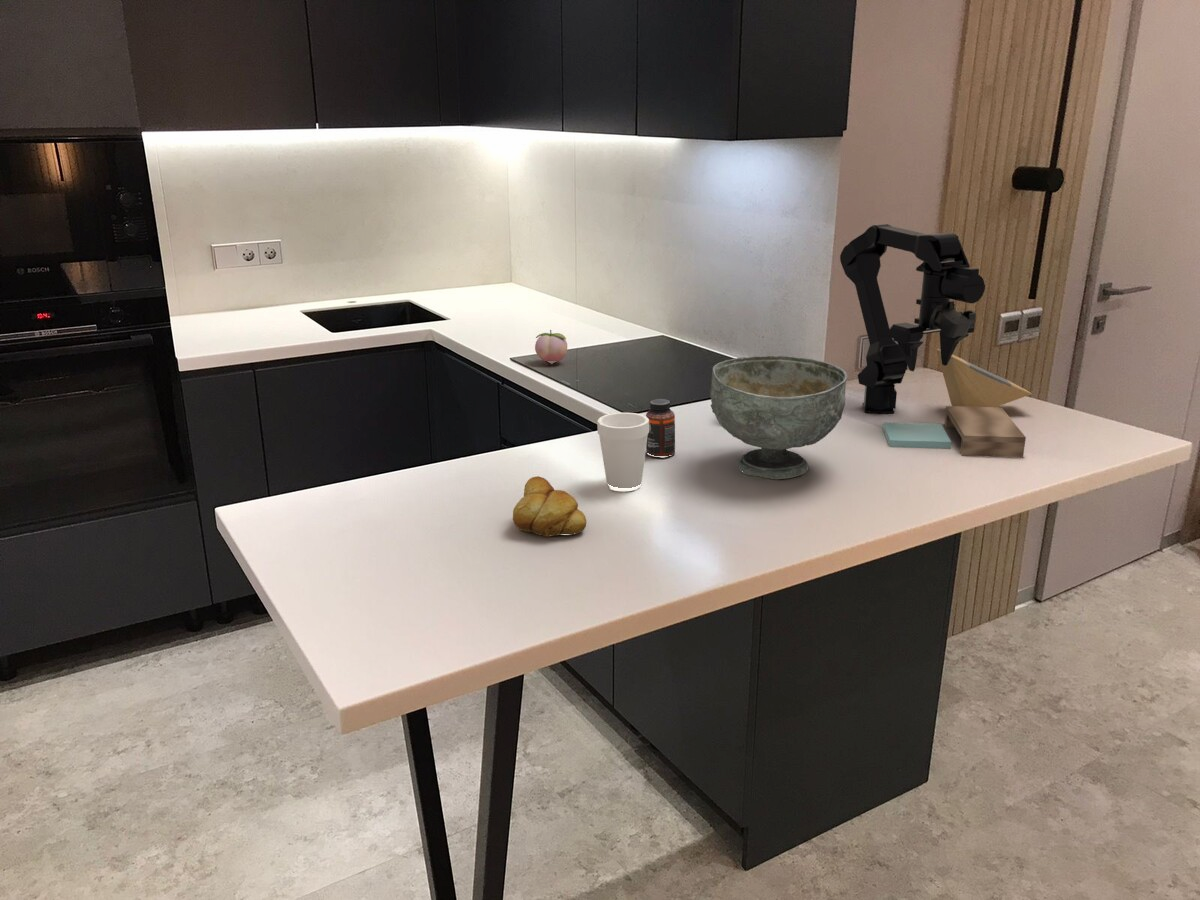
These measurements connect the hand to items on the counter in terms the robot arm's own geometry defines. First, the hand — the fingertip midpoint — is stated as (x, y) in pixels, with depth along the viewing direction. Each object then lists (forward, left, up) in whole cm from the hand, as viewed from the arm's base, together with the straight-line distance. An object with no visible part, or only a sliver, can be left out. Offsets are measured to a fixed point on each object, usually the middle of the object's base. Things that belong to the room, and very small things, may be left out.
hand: (928, 368), depth 199 cm
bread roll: (-70, -62, -14) cm, 94 cm away
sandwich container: (+17, +12, -11) cm, 23 cm away
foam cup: (-60, -41, -14) cm, 74 cm away
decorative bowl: (-32, -29, -14) cm, 45 cm away
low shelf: (+11, -8, -13) cm, 19 cm away
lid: (-3, -8, -14) cm, 16 cm away
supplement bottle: (-55, -23, -14) cm, 61 cm away
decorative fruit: (-93, +48, -13) cm, 106 cm away
